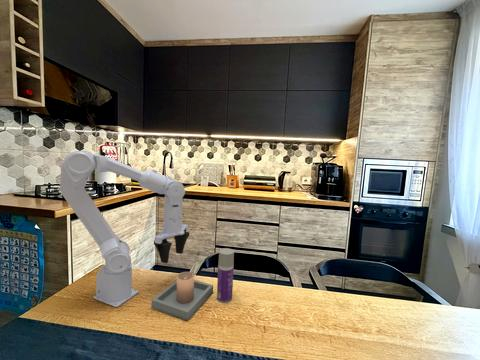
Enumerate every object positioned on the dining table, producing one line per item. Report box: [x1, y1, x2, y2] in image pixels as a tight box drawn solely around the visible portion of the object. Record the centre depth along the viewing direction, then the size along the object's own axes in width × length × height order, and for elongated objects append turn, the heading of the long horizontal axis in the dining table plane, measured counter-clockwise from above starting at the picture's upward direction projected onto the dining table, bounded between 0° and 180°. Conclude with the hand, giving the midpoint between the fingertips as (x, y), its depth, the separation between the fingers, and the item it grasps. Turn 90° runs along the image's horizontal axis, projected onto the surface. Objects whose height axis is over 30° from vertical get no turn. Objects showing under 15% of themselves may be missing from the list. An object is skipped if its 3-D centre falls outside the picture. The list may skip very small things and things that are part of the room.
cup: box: [176, 271, 195, 304], centre depth 67 cm, size 5×5×7 cm
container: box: [216, 247, 235, 304], centre depth 68 cm, size 5×5×15 cm
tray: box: [150, 279, 214, 322], centre depth 67 cm, size 12×14×2 cm
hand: (172, 257), depth 74 cm, fingers open, 7 cm apart
